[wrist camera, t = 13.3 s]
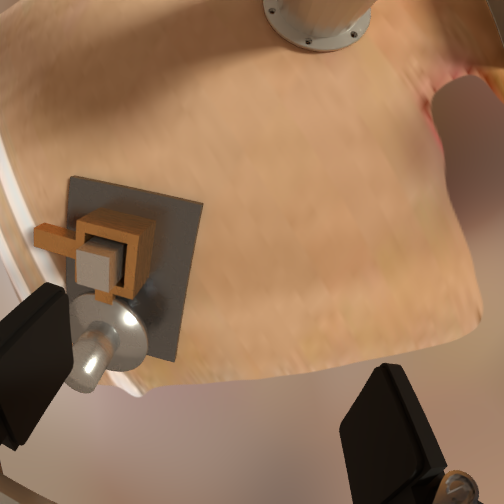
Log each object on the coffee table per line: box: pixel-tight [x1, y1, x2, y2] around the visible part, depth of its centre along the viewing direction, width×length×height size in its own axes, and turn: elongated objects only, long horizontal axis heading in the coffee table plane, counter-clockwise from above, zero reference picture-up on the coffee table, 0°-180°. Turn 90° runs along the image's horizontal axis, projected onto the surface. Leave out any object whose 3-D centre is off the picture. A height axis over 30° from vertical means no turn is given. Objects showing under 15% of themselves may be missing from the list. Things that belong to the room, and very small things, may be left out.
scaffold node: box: [34, 176, 204, 393], centre depth 34 cm, size 24×20×15 cm
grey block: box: [76, 236, 128, 293], centre depth 35 cm, size 4×4×9 cm
